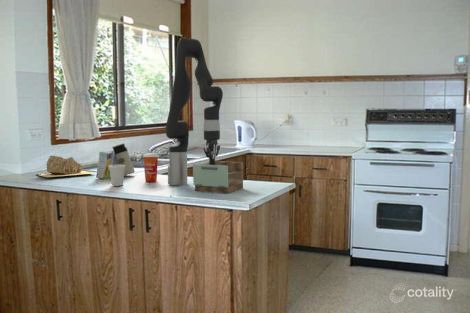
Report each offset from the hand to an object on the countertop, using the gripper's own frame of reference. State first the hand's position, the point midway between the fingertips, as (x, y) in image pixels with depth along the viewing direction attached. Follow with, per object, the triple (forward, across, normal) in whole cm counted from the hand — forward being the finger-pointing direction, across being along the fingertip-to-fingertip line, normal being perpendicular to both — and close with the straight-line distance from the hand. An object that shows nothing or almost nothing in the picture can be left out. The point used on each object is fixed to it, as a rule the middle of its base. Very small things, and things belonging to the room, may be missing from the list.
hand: (212, 166), depth 235 cm
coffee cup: (+13, -18, -47) cm, 52 cm away
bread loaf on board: (+17, -16, -105) cm, 108 cm away
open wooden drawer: (+12, -7, 0) cm, 14 cm away
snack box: (+12, -22, -80) cm, 83 cm away
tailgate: (+9, +2, 0) cm, 9 cm away
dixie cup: (+12, +1, -55) cm, 56 cm away
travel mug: (+11, -27, -69) cm, 75 cm away
